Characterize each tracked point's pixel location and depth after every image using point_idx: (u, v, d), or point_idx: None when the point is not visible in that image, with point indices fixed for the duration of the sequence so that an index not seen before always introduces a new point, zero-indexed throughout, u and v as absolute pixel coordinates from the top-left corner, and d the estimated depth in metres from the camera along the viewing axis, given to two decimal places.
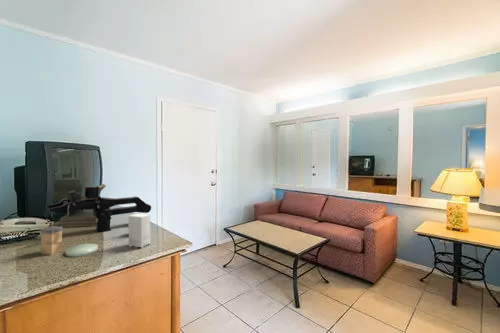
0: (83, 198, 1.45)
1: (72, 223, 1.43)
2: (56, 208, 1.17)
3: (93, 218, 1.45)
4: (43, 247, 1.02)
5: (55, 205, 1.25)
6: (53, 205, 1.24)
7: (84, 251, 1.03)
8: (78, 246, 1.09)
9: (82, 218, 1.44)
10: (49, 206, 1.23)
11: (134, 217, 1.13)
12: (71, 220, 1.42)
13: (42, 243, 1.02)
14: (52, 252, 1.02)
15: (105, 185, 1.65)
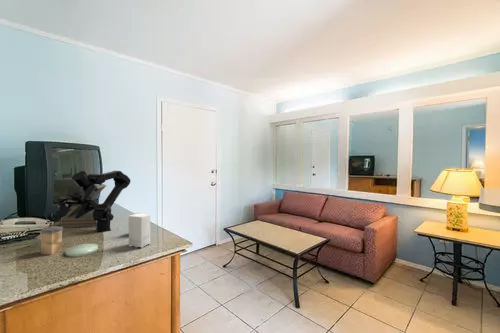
0: None
1: (72, 223, 1.43)
2: (80, 213, 1.14)
3: (93, 218, 1.45)
4: (43, 247, 1.02)
5: (62, 211, 1.15)
6: (61, 212, 1.14)
7: (84, 251, 1.03)
8: (78, 246, 1.09)
9: (82, 218, 1.44)
10: (59, 215, 1.13)
11: (134, 217, 1.13)
12: (71, 220, 1.42)
13: (42, 243, 1.02)
14: (52, 252, 1.02)
15: (105, 185, 1.65)
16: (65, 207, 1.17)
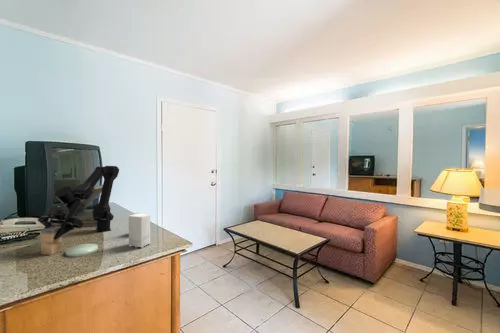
0: None
1: None
2: (59, 233, 1.04)
3: None
4: (43, 247, 1.02)
5: None
6: None
7: (84, 251, 1.03)
8: (78, 246, 1.09)
9: (83, 218, 1.44)
10: None
11: (134, 217, 1.13)
12: None
13: (42, 243, 1.02)
14: (52, 252, 1.02)
15: None
16: None
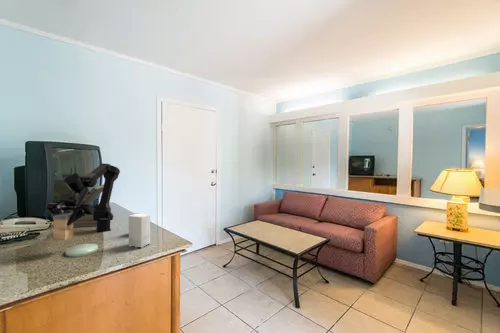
0: (85, 198, 1.45)
1: (74, 223, 1.43)
2: (72, 219, 1.05)
3: None
4: (56, 233, 1.02)
5: None
6: None
7: (84, 251, 1.03)
8: (78, 246, 1.09)
9: (84, 218, 1.44)
10: None
11: (134, 217, 1.13)
12: None
13: (54, 229, 1.02)
14: (65, 238, 1.03)
15: None
16: None
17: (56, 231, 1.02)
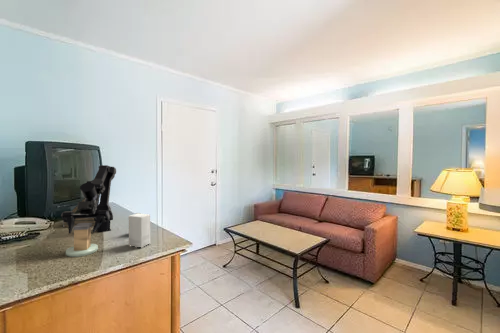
0: None
1: (75, 223, 1.43)
2: (96, 225, 1.08)
3: None
4: (77, 244, 1.04)
5: (71, 225, 1.06)
6: (71, 227, 1.05)
7: (84, 251, 1.03)
8: None
9: (85, 218, 1.44)
10: (70, 230, 1.04)
11: (134, 217, 1.13)
12: None
13: (75, 240, 1.03)
14: (87, 247, 1.05)
15: None
16: (72, 221, 1.08)
17: (77, 241, 1.04)
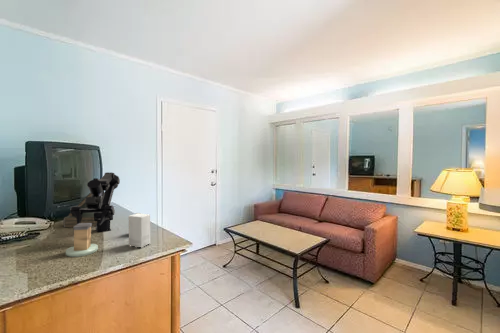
0: None
1: (75, 223, 1.43)
2: (102, 219, 1.17)
3: None
4: (77, 244, 1.04)
5: (79, 219, 1.15)
6: (79, 220, 1.14)
7: (84, 251, 1.03)
8: None
9: (85, 218, 1.44)
10: None
11: (134, 217, 1.13)
12: (74, 220, 1.43)
13: (75, 240, 1.03)
14: (87, 247, 1.05)
15: None
16: (80, 215, 1.16)
17: (77, 241, 1.04)
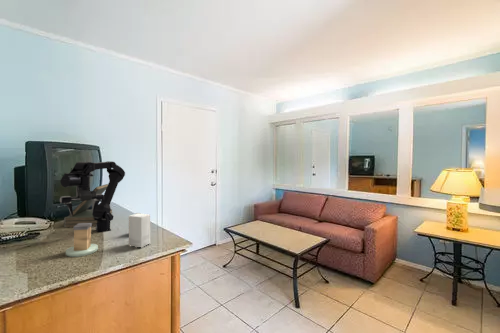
0: None
1: (76, 223, 1.43)
2: (95, 208, 1.27)
3: None
4: (77, 244, 1.04)
5: None
6: (72, 210, 1.20)
7: (84, 251, 1.03)
8: None
9: (86, 218, 1.44)
10: None
11: (134, 217, 1.13)
12: (75, 220, 1.43)
13: (75, 240, 1.03)
14: (87, 247, 1.05)
15: None
16: None
17: (77, 241, 1.04)
